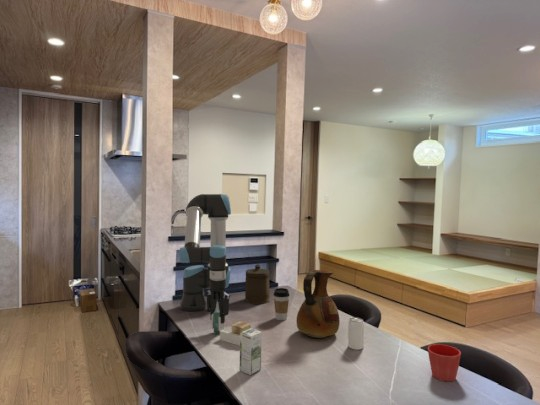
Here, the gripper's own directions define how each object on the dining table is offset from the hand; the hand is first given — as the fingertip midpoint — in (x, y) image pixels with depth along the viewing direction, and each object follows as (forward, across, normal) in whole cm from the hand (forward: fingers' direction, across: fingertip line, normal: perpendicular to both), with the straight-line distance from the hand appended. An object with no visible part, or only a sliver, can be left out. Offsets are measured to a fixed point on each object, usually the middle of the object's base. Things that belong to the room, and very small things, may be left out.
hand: (217, 328), depth 169 cm
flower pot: (+2, +94, +16) cm, 95 cm away
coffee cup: (+2, +14, +34) cm, 37 cm away
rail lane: (+2, +13, 0) cm, 13 cm away
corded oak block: (+2, +8, 0) cm, 8 cm away
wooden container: (+2, -15, +53) cm, 55 cm away
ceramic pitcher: (+2, +39, +26) cm, 47 cm away
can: (+2, +59, +22) cm, 63 cm away
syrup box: (+2, +34, -20) cm, 40 cm away
